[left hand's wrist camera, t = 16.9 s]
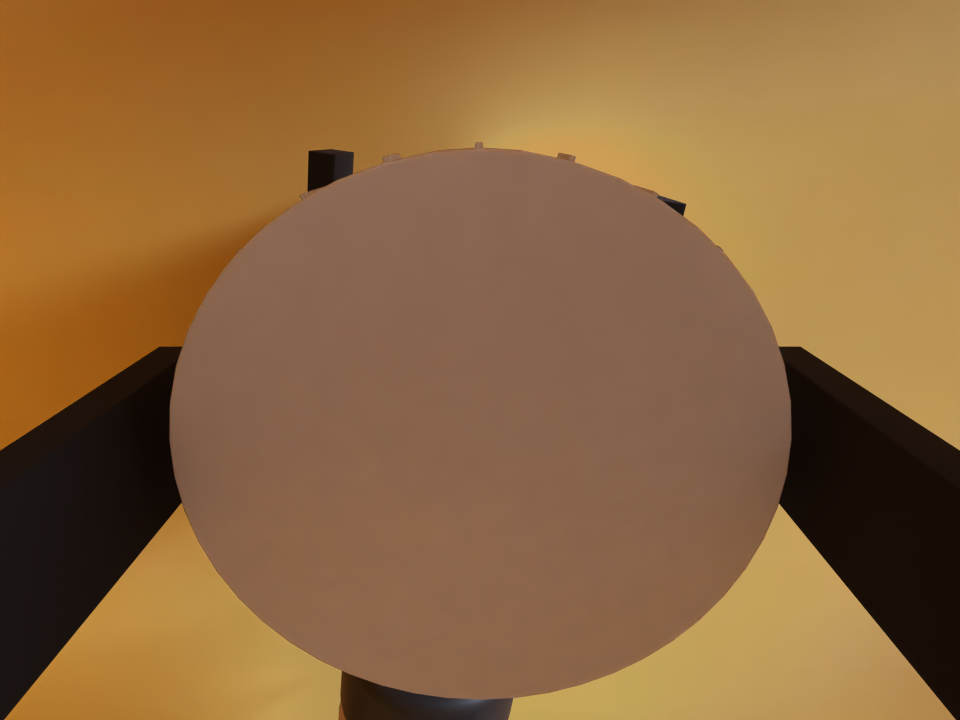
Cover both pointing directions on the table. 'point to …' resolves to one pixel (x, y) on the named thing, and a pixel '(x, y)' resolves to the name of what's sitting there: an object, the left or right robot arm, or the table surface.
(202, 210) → the table surface
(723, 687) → the table surface
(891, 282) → the table surface
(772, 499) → the lid
